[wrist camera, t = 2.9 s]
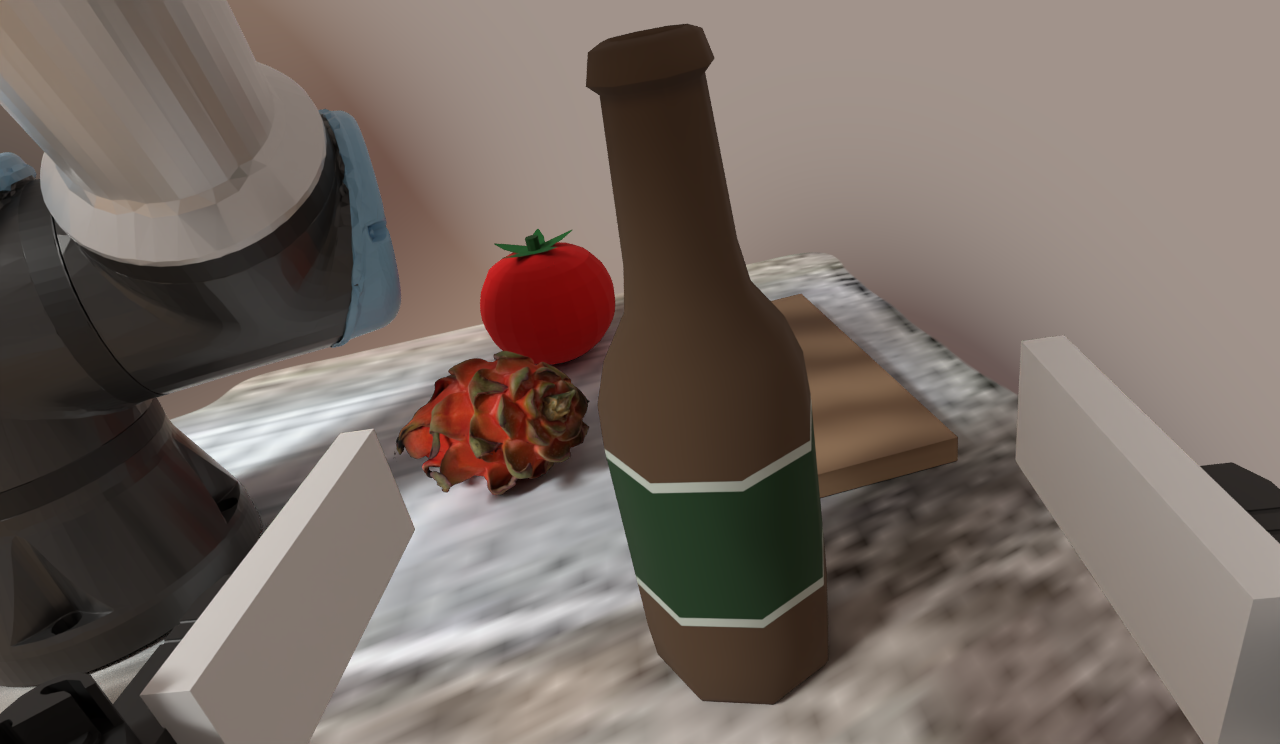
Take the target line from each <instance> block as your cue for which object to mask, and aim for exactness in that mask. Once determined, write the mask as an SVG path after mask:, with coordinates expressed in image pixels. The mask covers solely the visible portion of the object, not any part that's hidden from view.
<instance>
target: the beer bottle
mask: <svg viewBox="0 0 1280 744" xmlns="http://www.w3.org/2000/svg"><path fill="white" fill-rule="evenodd" d="M713 60H714V56H713V53H712V51H711V48H710V46H709V43H708V41H707V39H706V36H705V34H704V31H703V29H702V28H701V27H698V26H694V25H690V24H681V25H670V26H664V27H659V28H653V29H648V30H643V31H638V32H633V33H629V34H625V35H621V36H617V37H613V38H609V39H607V40H605V41H603V42H601V43H599V44H598V45H597V46H596V47H594V48H593V49H592V50H591V51H589V52H588V60H587V61H588V62H587V79H586V87H588V88H589V89H591V90H592V91H594V92H595V93H597V94H598V95H600V101H601V108H602V115H603V122H604V130H605V137H606V144H607V151H608V158H609V165H610V173H611V180H612V187H613V194H614V201H615V208H616V216H617V223H618V230H619V237H620V244H621V251H622V259H623V267H624V314H623V316H622V319H621V321H620V324H619V326H618V328H617V331H616V333H615V335H614V338H613V340H612V343H611V345H610V347H609V350H608V352H607V355H606V357H605V359H604V363H603V370H602V377H601V384H600V391H599V398H598V411H599V417H600V424H601V430H602V437H603V443H604V449H605V453H606V457H607V461H608V465H609V469H610V473H611V477H612V481H613V485H614V490H615V494H616V498H617V502H618V506H619V510H620V514H621V518H622V522H623V526H624V530H625V534H626V538H627V542H628V546H629V550H630V554H631V558H632V562H633V566H634V570H635V574H636V578H637V582H638V586H639V590H640V594H641V598H642V602H643V606H644V610H645V614H646V619H647V623H648V626H649V629H650V632H651V635H652V638H653V641H654V644H655V647H656V650H657V653H658V655H659V656H660V657H661V658H662V659H663V660H664V661H665V662H666V663H667V664H668V665H669V666H670V667H671V668H672V670H673V671H674V672H675V673H676V674H677V675H678V676H679V677H680V678H681V679H682V680H683V681H684V682H685V683H686V684H687V686H688V687H689V688H690V689H691V690H692V691H693V692H694V693H695V694H696V695H697V696H698V697H699V698H700V699H701V700H702V701H713V702H732V703H751V704H770V705H773V704H775V703H776V702H777V701H779V700H780V699H781V698H782V697H784V696H785V695H786V694H788V693H789V692H790V691H792V690H793V689H794V688H795V687H797V686H798V685H799V684H801V683H802V682H803V681H804V680H806V679H807V678H808V677H810V676H811V675H812V674H814V673H815V672H816V671H817V670H819V669H820V668H821V667H823V666H824V665H825V664H826V662H827V661H828V611H827V571H826V559H825V548H824V537H823V526H822V515H821V503H820V492H819V481H818V470H817V459H816V448H815V436H814V425H813V414H812V403H811V393H810V387H809V382H808V376H807V371H806V365H805V359H804V354H803V350H802V348H801V347H800V345H799V343H798V341H797V339H796V337H795V335H794V333H793V331H792V329H791V327H790V326H789V324H788V322H787V320H786V318H785V316H784V315H783V314H782V313H781V312H780V311H779V309H778V308H777V307H776V306H775V305H774V304H773V303H772V302H771V301H770V300H769V299H768V298H767V297H766V296H765V295H764V294H763V293H762V292H761V291H760V290H759V289H758V288H757V287H756V286H755V285H754V284H753V282H752V281H751V280H750V277H749V274H748V271H747V268H746V264H745V261H744V258H743V255H742V252H741V249H740V246H739V243H738V240H737V235H736V231H735V225H734V221H733V215H732V210H731V204H730V199H729V194H728V189H727V184H726V178H725V173H724V168H723V163H722V158H721V153H720V147H719V142H718V137H717V132H716V127H715V122H714V117H713V111H712V106H711V101H710V96H709V90H708V85H707V80H706V75H705V71H706V70H707V68H708V67H709V65H710V64H711V62H712V61H713Z"/></svg>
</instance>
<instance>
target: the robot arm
mask: <svg viewBox="0 0 1280 744" xmlns="http://www.w3.org/2000/svg"><path fill="white" fill-rule="evenodd" d="M0 104H1V105H2V106H3V108H4V109H6V111H7V112H8V113H9V114H10V115H11V116H12V117H13V118H14V119H15V120H16V122H17V123H18V124H19V125H20V126H21V127H22V128H23V129H24V130H25V131H26V132H27V133H28V134H29V136H30V137H31V138H32V139H33V140H34V141H35V142H36V143H37V144H38V145H39V146H40V147H41V149H42V150H43V151H44V155H43V158H42V164H41V171H40V179H38V180H36V179H35V178H36V172H35V170H34V168H33V167H31V166H29V165H27V164H26V163H25V162H24V161H23V160H22V159H21V158H20V157H19V156H18V155H16V154H14V153H10V152H6V153H1V154H0V686H6V687H27V686H36V685H38V686H37V687H35V688H34V689H32V690H30V691H29V692H27V693H25V694H24V695H22V696H21V697H19V698H18V699H17V700H16V701H15V702H13V703H12V704H11V705H10V706H9V707H7V708H6V709H5V710H4V711H3V712H2V713H1V714H0V744H308V743H309V741H310V739H311V737H312V735H313V733H314V731H315V729H316V727H317V725H318V723H319V721H320V719H321V717H322V715H323V713H324V711H325V709H326V707H327V705H328V703H329V701H330V699H331V697H332V695H333V693H334V691H335V689H336V687H337V685H338V683H339V681H340V679H341V677H342V675H343V673H344V671H345V669H346V667H347V665H348V663H349V661H350V659H351V657H352V655H353V653H354V651H355V649H356V647H357V645H358V643H359V641H360V639H361V637H362V635H363V633H364V631H365V629H366V627H367V625H368V623H369V621H370V619H371V617H372V615H373V613H374V611H375V609H376V607H377V605H378V603H379V601H380V599H381V597H382V595H383V593H384V591H385V589H386V587H387V585H388V583H389V581H390V579H391V577H392V575H393V573H394V571H395V569H396V567H397V565H398V563H399V561H400V559H401V557H402V555H403V553H404V551H405V549H406V547H407V545H408V543H409V541H410V539H411V537H412V535H413V533H414V531H415V528H414V525H413V523H412V521H411V518H410V516H409V513H408V511H407V508H406V506H405V504H404V501H403V499H402V496H401V494H400V491H399V489H398V487H397V484H396V482H395V479H394V477H393V475H392V472H391V470H390V467H389V465H388V462H387V460H386V458H385V455H384V453H383V450H382V448H381V445H380V443H379V441H378V438H377V436H376V433H375V431H374V429H367V430H360V431H353V432H345V433H340V434H339V436H338V437H337V438H336V440H335V441H334V442H333V443H332V445H331V446H330V447H329V449H328V450H327V451H326V453H325V454H324V455H323V456H322V458H321V459H320V460H319V462H318V463H317V464H316V466H315V467H314V468H313V470H312V471H311V472H310V473H309V475H308V476H307V477H306V479H305V480H304V481H303V483H302V484H301V485H300V486H299V488H298V489H297V490H296V492H295V493H294V494H293V496H292V497H291V498H290V499H289V501H288V502H287V503H286V505H285V506H284V507H283V509H282V510H281V511H280V513H279V514H278V515H277V516H276V518H275V519H274V520H273V522H272V523H271V524H270V526H269V527H268V528H267V529H266V531H265V532H264V533H263V535H262V536H261V537H260V539H259V540H258V538H259V535H260V530H261V520H260V516H259V514H258V512H257V510H256V508H255V506H254V504H253V502H252V501H251V499H250V497H249V495H248V493H247V491H246V489H245V488H244V487H243V485H242V484H241V483H240V482H239V481H238V480H237V479H236V478H235V477H234V476H233V475H231V474H230V473H229V472H228V471H227V470H226V469H224V468H223V467H222V466H221V465H220V464H219V463H217V462H216V461H215V460H214V459H213V458H211V457H210V456H209V455H208V454H207V453H206V452H204V451H203V450H202V449H201V448H200V447H199V446H197V445H196V444H195V443H194V442H193V441H192V440H190V439H189V438H188V437H187V436H186V435H185V434H183V433H182V432H181V431H180V430H179V429H177V428H176V427H175V426H174V425H173V424H172V423H171V421H170V420H169V418H168V417H167V415H166V413H165V412H164V410H163V408H162V407H161V404H160V403H159V401H158V399H157V398H156V397H160V396H163V395H167V394H169V393H173V392H176V391H179V390H183V389H186V388H189V387H193V386H196V385H199V384H203V383H206V382H209V381H213V380H216V379H219V378H223V377H226V376H229V375H233V374H236V373H239V372H243V371H246V370H249V369H253V368H256V367H260V366H264V365H267V364H270V363H274V362H278V361H281V360H285V359H288V358H292V357H295V356H299V355H302V354H306V353H310V352H313V351H316V350H320V349H324V348H327V347H332V348H334V347H338V346H342V345H344V344H345V343H347V342H348V341H349V340H350V339H352V338H355V337H358V336H361V335H363V334H366V333H369V332H372V331H375V330H377V329H380V328H383V327H385V326H386V325H388V324H389V323H390V322H391V321H392V320H393V319H394V318H395V317H396V315H397V313H398V311H399V308H400V304H401V289H400V282H399V275H398V269H397V264H396V259H395V254H394V250H393V246H392V241H391V238H390V234H389V231H388V229H387V228H386V218H385V215H384V210H383V203H382V200H381V196H380V192H379V188H378V184H377V181H376V177H375V174H374V171H373V167H372V164H371V160H370V157H369V154H368V151H367V148H366V145H365V142H364V139H363V136H362V133H361V131H360V129H359V126H358V124H357V122H356V120H355V119H354V118H353V117H352V116H351V115H350V114H348V113H346V112H344V111H329V110H326V109H323V110H318V109H317V108H316V106H315V105H314V103H313V101H312V100H311V98H310V97H309V96H308V94H307V93H306V92H305V90H304V89H303V88H302V87H301V86H299V85H298V84H297V83H296V82H295V81H294V80H293V79H291V78H289V77H288V76H286V75H285V74H283V73H282V72H280V71H278V70H275V69H273V68H272V67H269V66H267V65H265V64H261V63H259V62H256V60H255V58H254V56H253V53H252V51H251V49H250V47H249V45H248V43H247V41H246V39H245V37H244V35H243V33H242V31H241V29H240V27H239V25H238V22H237V20H236V18H235V16H234V14H233V12H232V10H231V8H230V6H229V4H228V2H227V0H0ZM1015 461H1016V462H1017V464H1018V465H1019V467H1020V468H1021V470H1022V471H1023V473H1024V474H1025V476H1026V477H1027V479H1028V480H1029V482H1030V483H1031V485H1032V486H1033V488H1034V489H1035V491H1036V492H1037V494H1038V495H1039V497H1040V498H1041V500H1042V501H1043V503H1044V504H1045V506H1046V507H1047V509H1048V510H1049V512H1050V513H1051V515H1052V516H1053V518H1054V519H1055V521H1056V522H1057V524H1058V526H1059V527H1060V529H1061V530H1062V532H1063V533H1064V535H1065V536H1066V538H1067V539H1068V541H1069V542H1070V544H1071V545H1072V547H1073V548H1074V550H1075V551H1076V553H1077V554H1078V556H1079V557H1080V559H1081V560H1082V562H1083V563H1084V565H1085V566H1086V568H1087V569H1088V571H1089V572H1090V574H1091V575H1092V577H1093V578H1094V580H1095V581H1096V583H1097V584H1098V586H1099V587H1100V589H1101V590H1102V592H1103V593H1104V595H1105V596H1106V598H1107V599H1108V601H1109V602H1110V604H1111V605H1112V607H1113V608H1114V610H1115V611H1116V613H1117V614H1118V616H1119V617H1120V619H1121V620H1122V622H1123V623H1124V625H1125V626H1126V628H1127V629H1128V631H1129V632H1130V634H1131V635H1132V637H1133V638H1134V640H1135V641H1136V643H1137V644H1138V646H1139V647H1140V649H1141V650H1142V652H1143V653H1144V655H1145V656H1146V658H1147V659H1148V661H1149V662H1150V664H1151V665H1152V667H1153V668H1154V670H1155V671H1156V673H1157V674H1158V676H1159V677H1160V679H1161V680H1162V682H1163V683H1164V685H1165V686H1166V688H1167V689H1168V691H1169V692H1170V694H1171V695H1172V697H1173V698H1174V700H1175V701H1176V703H1177V704H1178V706H1179V707H1180V709H1181V710H1182V712H1183V713H1184V715H1185V716H1186V718H1187V719H1188V721H1189V722H1190V724H1191V725H1192V727H1193V728H1194V730H1195V731H1196V733H1197V734H1198V736H1199V737H1200V739H1201V740H1202V742H1203V743H1204V744H1280V489H1279V488H1277V486H1275V485H1274V484H1273V483H1272V482H1271V481H1269V480H1267V479H1265V478H1263V477H1261V476H1259V475H1257V474H1255V473H1253V472H1251V471H1249V470H1247V469H1244V468H1242V467H1240V466H1238V465H1236V464H1234V463H1224V464H1214V465H1206V466H1199V465H1198V464H1197V463H1196V462H1195V461H1194V460H1193V459H1192V458H1191V457H1190V456H1189V455H1188V454H1187V453H1185V452H1184V451H1183V450H1182V449H1181V448H1180V447H1179V446H1178V445H1177V444H1176V443H1175V442H1174V441H1173V440H1172V439H1171V438H1170V437H1169V436H1168V435H1167V434H1166V433H1165V432H1164V431H1163V430H1162V429H1160V427H1159V426H1157V424H1156V423H1154V422H1153V421H1152V420H1151V419H1150V418H1149V417H1148V416H1147V415H1146V414H1145V413H1144V412H1143V411H1142V410H1141V409H1140V408H1139V407H1138V406H1137V405H1136V404H1135V403H1134V402H1133V401H1132V400H1131V399H1130V398H1129V397H1128V396H1127V395H1126V394H1124V393H1123V392H1122V391H1121V390H1120V389H1119V388H1118V387H1117V386H1116V385H1115V384H1114V383H1113V382H1112V381H1111V380H1110V379H1109V378H1108V377H1107V376H1106V375H1105V374H1104V373H1103V372H1102V371H1101V370H1100V369H1099V368H1097V366H1095V364H1094V363H1093V362H1091V361H1090V360H1089V359H1088V358H1087V357H1086V356H1085V355H1084V354H1083V353H1082V352H1081V351H1080V350H1079V349H1078V348H1077V347H1076V346H1075V345H1074V344H1073V343H1072V342H1071V341H1070V340H1069V339H1068V338H1066V337H1065V336H1064V335H1061V336H1053V337H1047V338H1039V339H1031V340H1024V341H1021V353H1020V374H1019V395H1018V416H1017V437H1016V458H1015ZM171 629H172V631H171V632H170V633H169V634H168V636H167V637H166V638H165V639H164V640H165V643H164V644H162V645H160V646H159V647H158V648H157V649H156V651H155V652H154V653H153V654H152V656H151V657H150V658H149V660H148V661H147V662H146V663H145V665H144V666H143V667H142V668H141V670H140V671H139V672H138V673H137V675H136V676H135V677H134V678H133V680H132V681H131V682H130V683H129V685H128V686H127V687H126V689H125V690H124V691H123V692H122V694H121V695H120V696H119V697H118V699H117V700H116V701H115V702H114V704H112V703H111V702H110V700H109V699H108V698H107V696H106V695H105V693H104V692H103V691H102V689H101V688H100V687H99V685H98V684H97V683H96V681H95V680H94V679H93V677H92V676H91V675H90V674H85V673H86V672H89V671H91V670H94V669H97V668H99V667H102V666H104V665H106V664H109V663H111V662H113V661H115V660H118V659H120V658H122V657H124V656H126V655H128V654H130V653H132V652H134V651H136V650H138V649H139V648H141V647H143V646H145V645H147V644H149V643H150V642H152V641H154V640H155V639H157V638H159V637H160V636H162V635H164V634H165V633H167V632H168V631H170V630H171Z"/></svg>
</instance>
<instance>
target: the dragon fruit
mask: <svg viewBox="0 0 1280 744" xmlns="http://www.w3.org/2000/svg"><path fill="white" fill-rule="evenodd" d="M493 357H494V359H496V361H494V362H487V361H485V360H483V359H479V358H474V359H469V360H466V361H464V362H461V363H459V364H457V365H455V366H453V367H452V368H451V369H449V371H448V372H449V373H450V374H451V375H450V376H447V377H444V378H441V379H439V380H437V381H436V382H435V391H434V393H433V396H432V398H431V399H430V401H429V402H428V404H426V405H425V406H423V407H421V408H420V409H419V410H418V411H417V412H416V413H415V415H414V417H413V419H412V420H411V421H410V422H409V423H408V424H407V425H406V426H405V427H404V428H403V429H402V430H401V432H400V433H399V437H398V438H397V440H396V442H397V444H396V446H397V451H398V452H399V454H400V455H401V453H402V452H403V450H404V447H405V448H406V450H407V452H408V453H409V454H410V456H411V457H413V458H416V459H418V458H422V457H424V456H427V457H428V458H429V460H428V461H426V462H425V463H424V464H423V465H422V468H423V470H424V472H425V473H426V475H427V476H428V477H429V478H433V479H434V480H436V481H437V485H438V486H440V487H442V488H443V489H442V491H443V492H446V493H447V492H448V491H449V489H450V487H452V486H453V485H455V484H458V483H461V482H463V481H464V480H467V479H469V478H471V477H472V476H474V475H476V476H484V477H485V479H486V480H487V486H488V489H489V490H490V492H491V493H492V494H493V495H501V494H504V492H506V490H509V489H510V488H512V487H514V486H515V485H516V480H517V479H518V478H519V479H524V478H530V479H534V478H537V477H540V476H541V475H543V474H546V472H547V471H548V470H549V469H550V468H551V467H552V466H553V464H554V462H563V461H565V460H567V459H568V458H570V457H571V453H570V448H572V447H574V446H577V445H579V444H581V443H583V440H584V437H585V435H586V434H587V430H588V429H589V426H587V425H586V424H585V423H584V422H583V421H582V418H583V417H584V415H585V414H586V411H587V407H588V404H587V403H588V402H590V401H588V400H587V399H586V397H585V396H584V395H583V393H582V392H581V391H580V390H579V389H578V388H577V387H575V386H574V385H573V384H572V383H571V379H570V378H568V376H567V375H565V374H564V373H563V372H561V371H559V370H558V369H557V368H555V367H553V366H550V365H549V364H547V363H544V362H540V363H539V364H538V365H535V364H534V362H533V360H532V359H531V358H529V357H527V356H523V355H520V354H516V353H513V352H509V351H501V352H499V353H497V354H494V356H493ZM394 453H395V452H394ZM395 454H396V453H395ZM395 458H396V457H395ZM396 462H397V461H396ZM429 467H440V473H439V472H436V471H433V472H432V471H430V470H429Z"/></svg>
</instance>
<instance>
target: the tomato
mask: <svg viewBox="0 0 1280 744" xmlns="http://www.w3.org/2000/svg"><path fill="white" fill-rule="evenodd" d="M571 231H572V230H570V231H568V232H566V233H564V234H562V235H560V236H557V237H555V238H553V239H551V240H549V241H547V242H545V241H544V236H543V235H542V233H541V232H540V230H539V229H537V230H536V231H535V233H534V234H533V235H531V236H528V237H526V238H525V241H526V245H527V246H519V245H508V244H495V245H497V246H498V247H500V248H502V249H504V250H507V251H510V252H513V253H512V254H510V255H508V256H506V257H504V258H503V259H501V260H500V261H499V262H497V263H496V264H495V265H494V266H492V268H490V269H489V271H488V274H487V277H486V279H485V282H484V285H483V288H482V291H481V299H480V309H481V310H480V311H481V316H482V321H483V323H484V325H485V328H486V330H487V331H488V333H489V335H490V336H491V338H492V339H493V341H494V342H495V344H496V345H497V346H498V347H499V348H500V349H501V350H503V351H509V352H513V353H516V354H520V355H523V356H527V357H529V358H531V359H532V360H533V362H534V364H539V363H540V362H544V363H547V364H549V365H550V364H559V363H564V362H567V361H570V360H573V359H575V358H577V357H579V356H581V355H583V354H585V353H587V352H588V351H589V350H590V349H592V348H593V347H594V346H595V345H596V344H597V343H598V342H599V341H600V340H601V339H602V337H603V336H604V335H605V333H606V331H607V330H608V328H609V326H610V324H611V322H612V320H613V316H614V312H615V295H614V287H613V283H612V280H611V277H610V275H609V273H608V272H607V270H606V268H605V267H604V265H603V264H602V262H601V261H600V260H598V259H597V258H596V257H595V256H594V255H592V254H591V253H590V252H589V251H587V250H586V249H584V248H583V247H579V246H576V245H573V244H569V243H557V242H559V241H560V240H562V239H563V238H564V237H565V236H566V235H567V234H568V233H570V232H571Z"/></svg>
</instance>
